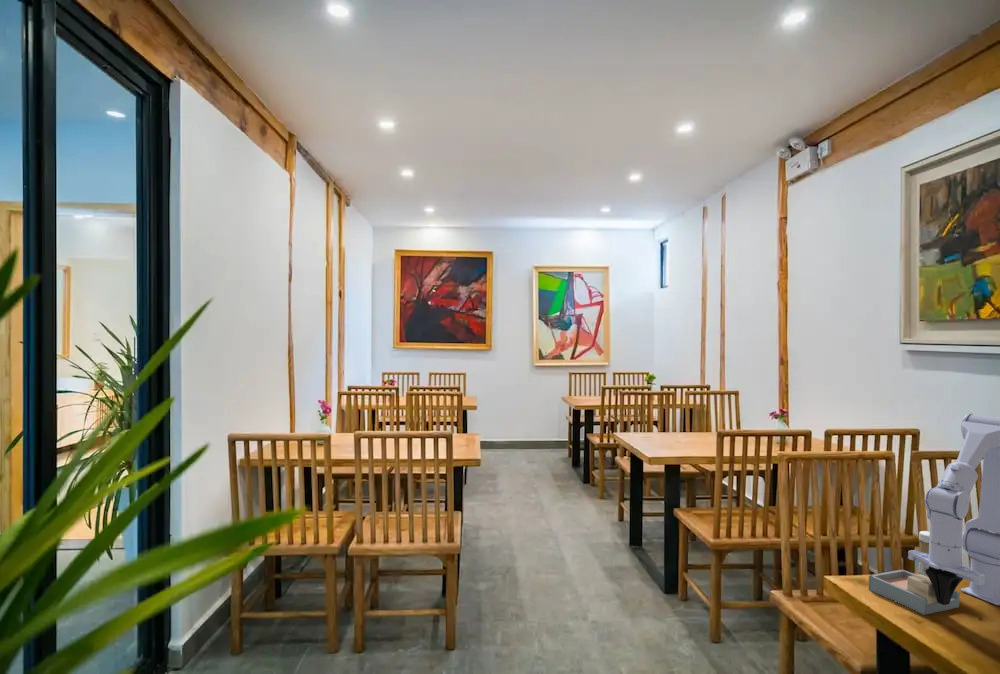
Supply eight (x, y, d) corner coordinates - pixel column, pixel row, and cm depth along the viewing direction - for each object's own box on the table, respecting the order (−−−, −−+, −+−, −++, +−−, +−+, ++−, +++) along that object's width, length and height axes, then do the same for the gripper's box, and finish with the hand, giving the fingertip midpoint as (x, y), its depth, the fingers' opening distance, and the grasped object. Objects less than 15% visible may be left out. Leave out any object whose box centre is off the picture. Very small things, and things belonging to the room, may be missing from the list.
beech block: (920, 593, 132) (920, 574, 132) (940, 601, 128) (941, 582, 128) (907, 595, 131) (907, 576, 131) (927, 604, 127) (928, 584, 127)
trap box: (902, 583, 142) (902, 569, 142) (959, 607, 130) (959, 592, 130) (868, 589, 138) (869, 575, 138) (924, 615, 126) (924, 599, 126)
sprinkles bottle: (943, 588, 140) (945, 534, 140) (936, 592, 137) (937, 538, 137) (921, 581, 144) (923, 529, 143) (914, 585, 141) (916, 532, 141)
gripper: (900, 533, 131) (898, 591, 131) (970, 557, 117) (968, 622, 117) (920, 530, 133) (918, 587, 133) (991, 553, 120) (989, 616, 120)
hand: (943, 603), depth 126 cm, fingers closed
